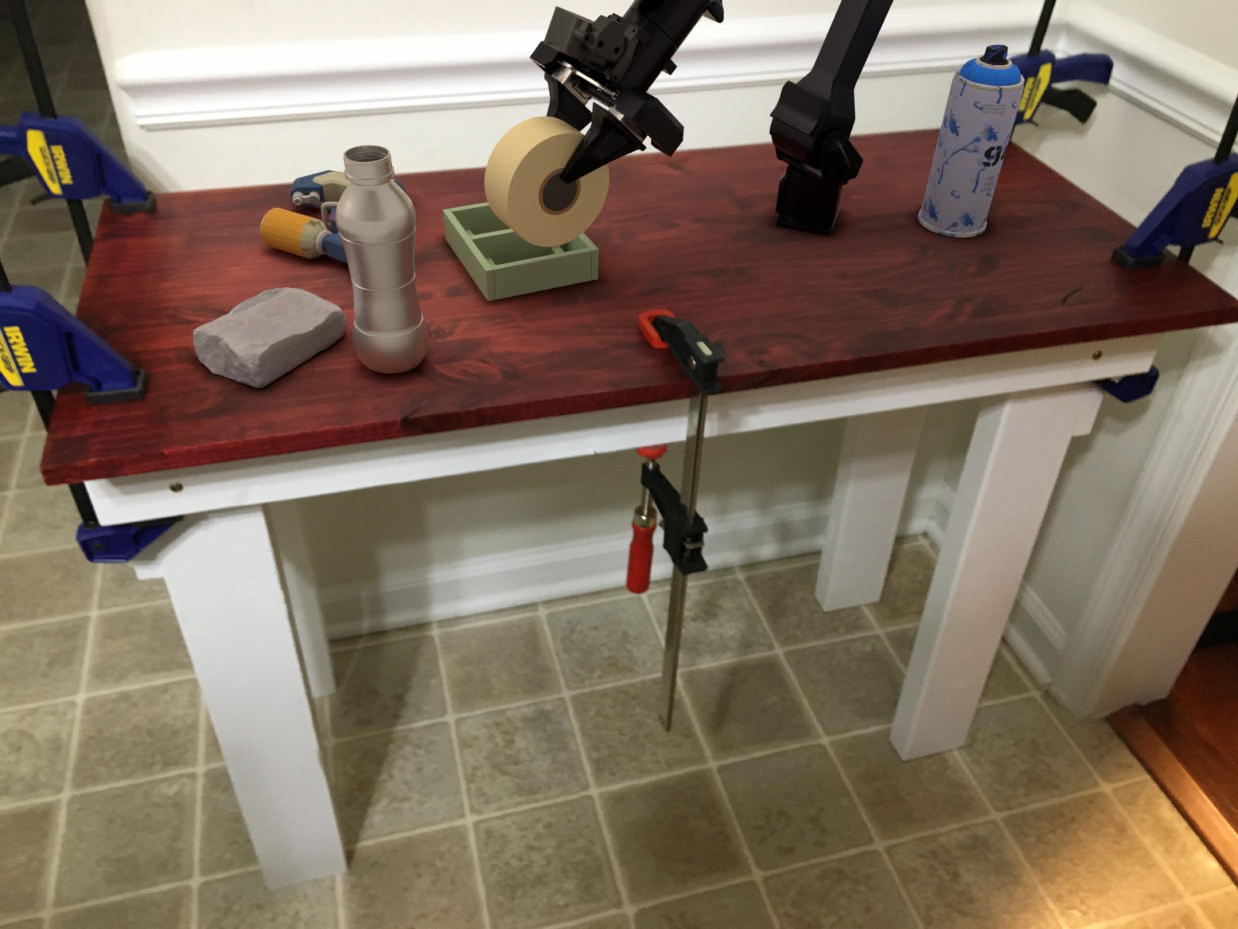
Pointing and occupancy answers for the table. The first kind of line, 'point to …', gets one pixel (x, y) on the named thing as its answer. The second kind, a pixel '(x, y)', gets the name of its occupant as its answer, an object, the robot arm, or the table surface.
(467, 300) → the table surface
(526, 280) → the green divided tray
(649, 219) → the table surface
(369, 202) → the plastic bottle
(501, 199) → the masking tape roll
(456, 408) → the table surface
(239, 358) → the stone block
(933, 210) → the aerosol can
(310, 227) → the spray gun
